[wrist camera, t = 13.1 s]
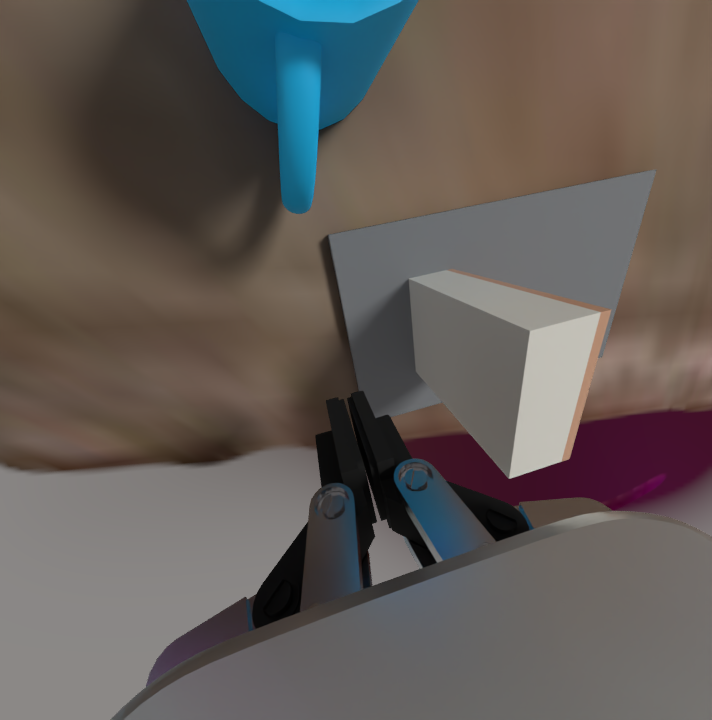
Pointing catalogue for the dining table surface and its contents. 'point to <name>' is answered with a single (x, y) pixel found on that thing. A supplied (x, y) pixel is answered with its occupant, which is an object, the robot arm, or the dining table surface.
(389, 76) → the dining table surface
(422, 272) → the mat
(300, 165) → the mug
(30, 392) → the dining table surface
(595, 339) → the white rectangular block
